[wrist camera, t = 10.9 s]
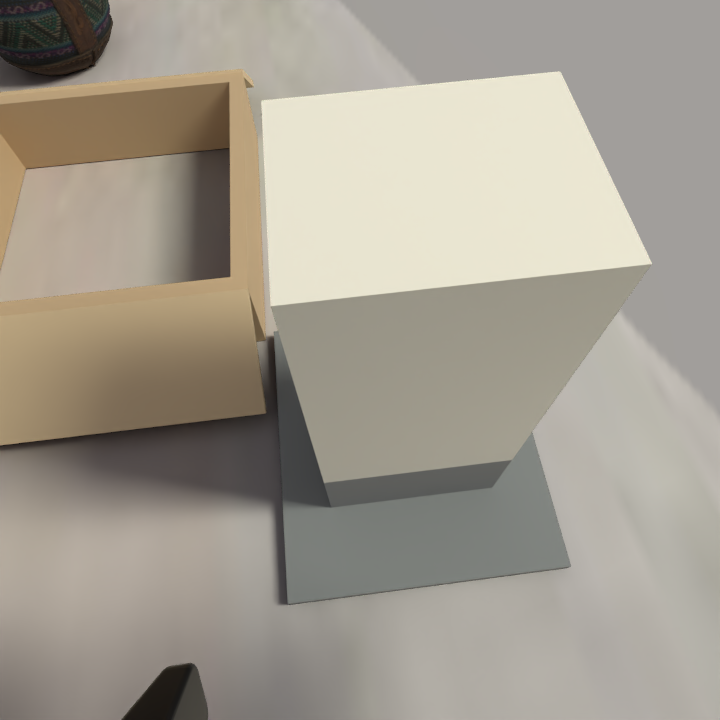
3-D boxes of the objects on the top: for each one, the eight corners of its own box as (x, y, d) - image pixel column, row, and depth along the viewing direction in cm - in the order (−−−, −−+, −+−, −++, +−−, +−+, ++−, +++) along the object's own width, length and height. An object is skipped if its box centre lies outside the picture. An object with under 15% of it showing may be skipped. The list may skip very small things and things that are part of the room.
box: (492, 487, 18) (652, 264, 8) (331, 507, 18) (271, 306, 8) (464, 371, 20) (560, 71, 10) (320, 387, 20) (261, 100, 10)
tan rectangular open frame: (269, 420, 20) (249, 377, 17) (-65, 461, 20) (-149, 424, 16) (255, 93, 29) (241, 25, 26) (28, 115, 29) (-15, 49, 26)
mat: (567, 567, 17) (570, 566, 17) (289, 604, 17) (287, 604, 17) (493, 311, 22) (495, 306, 22) (275, 336, 22) (273, 331, 21)
